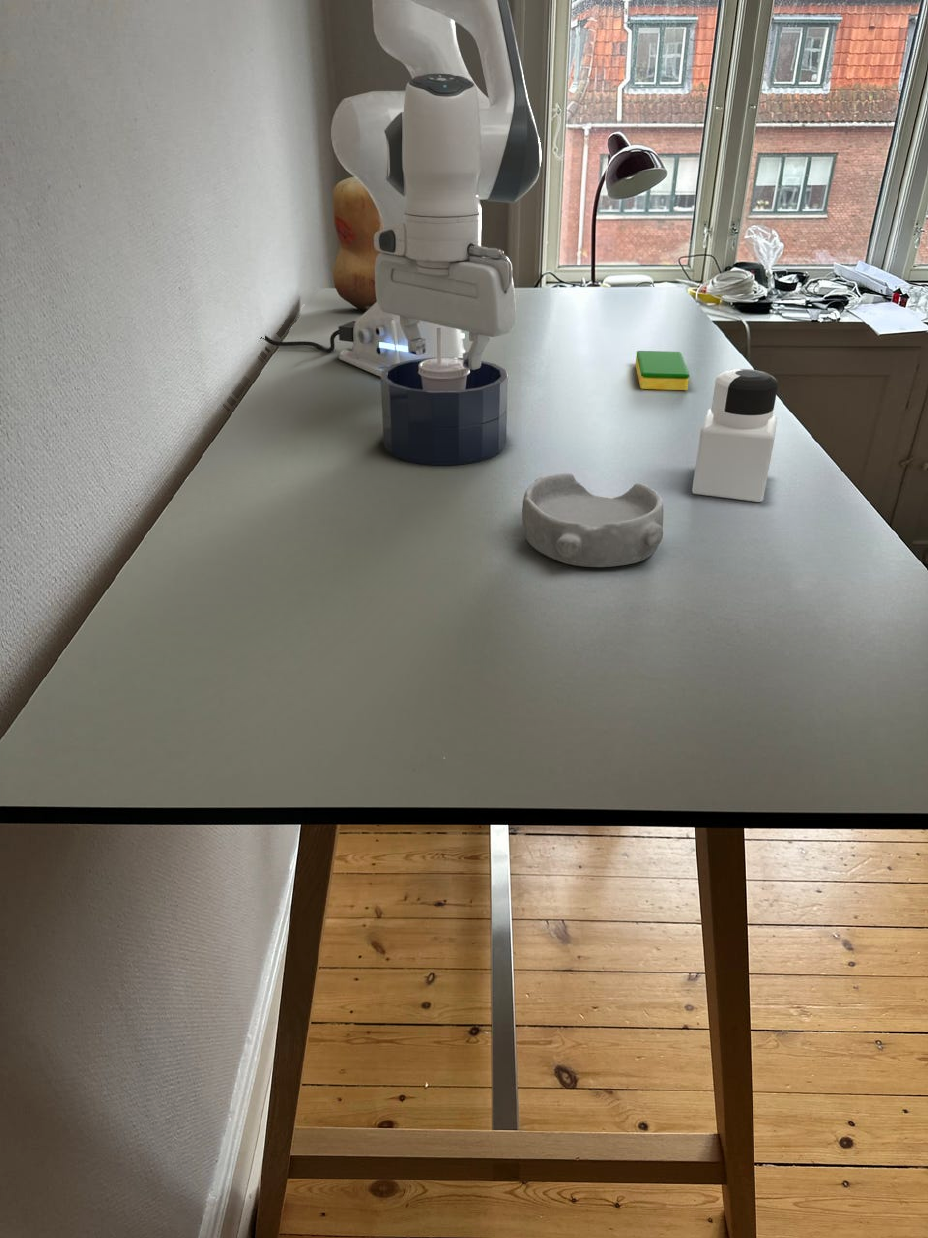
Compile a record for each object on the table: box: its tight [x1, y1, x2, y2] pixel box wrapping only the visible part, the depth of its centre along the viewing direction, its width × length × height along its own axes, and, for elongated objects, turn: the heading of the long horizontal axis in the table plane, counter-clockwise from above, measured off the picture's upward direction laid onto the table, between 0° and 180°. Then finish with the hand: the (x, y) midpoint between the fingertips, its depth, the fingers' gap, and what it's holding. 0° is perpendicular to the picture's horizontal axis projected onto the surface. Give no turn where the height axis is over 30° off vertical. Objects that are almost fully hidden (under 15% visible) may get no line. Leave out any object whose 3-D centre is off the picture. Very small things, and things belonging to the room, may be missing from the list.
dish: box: [521, 472, 665, 568], centre depth 88 cm, size 14×14×5 cm
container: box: [691, 368, 779, 503], centre depth 99 cm, size 8×8×13 cm
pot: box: [380, 357, 509, 466], centre depth 112 cm, size 16×16×9 cm
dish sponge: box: [635, 350, 690, 391], centre depth 140 cm, size 7×14×2 cm, turn 174°
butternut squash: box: [332, 176, 383, 311], centre depth 177 cm, size 14×13×25 cm
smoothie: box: [418, 328, 470, 391], centre depth 111 cm, size 6×6×14 cm
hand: (443, 360), depth 109 cm, fingers open, 8 cm apart
